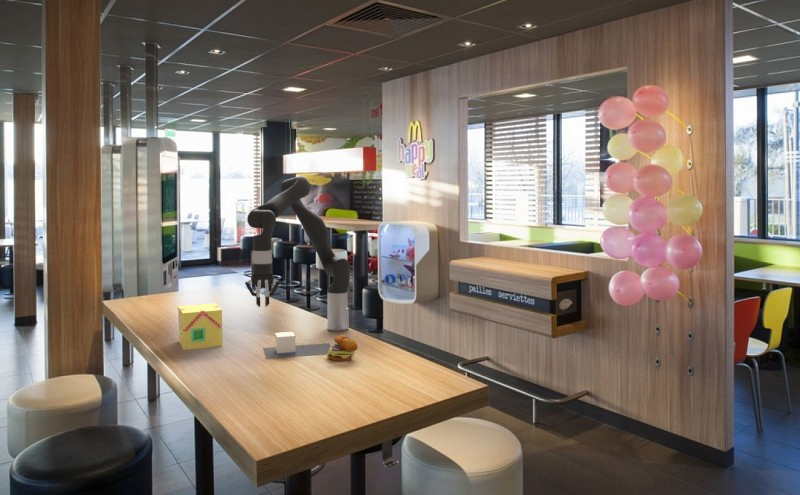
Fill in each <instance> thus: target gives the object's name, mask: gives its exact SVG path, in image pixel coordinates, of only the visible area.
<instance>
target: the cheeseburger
mask: <svg viewBox="0 0 800 495" xmlns="http://www.w3.org/2000/svg"><path fill="white" fill-rule="evenodd" d="M333 340H334V345H331V347H330V349H329V351H328V354H326V358H327V359H330V360H333V361H337V362H346V361H350V360H351V359H352V358H353V357H354V355H355V352H356V351H357V350H358V342H357V341H356V340H354V339H350V338H349V337H348V336H347V335H344V334H339V335H338V336H336V337H335V338H334V339H333Z"/></svg>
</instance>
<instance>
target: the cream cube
mask: <svg viewBox="0 0 800 495" xmlns="http://www.w3.org/2000/svg"><path fill="white" fill-rule="evenodd" d="M274 336H275V337H274V338H275V340H274V347H275V350H276V353H277V355H282V354H295V346H296V335H295V333H294V331H285V332H275V333H274Z"/></svg>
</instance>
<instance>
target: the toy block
mask: <svg viewBox="0 0 800 495" xmlns="http://www.w3.org/2000/svg"><path fill="white" fill-rule="evenodd" d="M177 310H178V311H177V315H178V341H179V344H180V346H181V348H182V349H183V350H184V351H187V350H197V349H206V348H215V347H216V348H217V347H223V342H224V341H223V309H222V308H220V307H219V306H218V304H217V303H203V304H196V305H195V304H190V305H188V304H187V305H179V306H177Z"/></svg>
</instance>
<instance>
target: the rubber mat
mask: <svg viewBox="0 0 800 495" xmlns="http://www.w3.org/2000/svg"><path fill="white" fill-rule="evenodd" d="M331 346H332V345H331V344H330V343H329V342H325V343H317V344H316V343H312V344H295V354H282V355H277V353H276V350H275V346H271V347H262V349H263V353H264V355H265V359H266V360H272V359H273V360H274V359H287V358H297V357H298V358H299V357H310V356H312V357H313V356H323V355H325V356H327V354H328V351H329V349H330V347H331Z"/></svg>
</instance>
